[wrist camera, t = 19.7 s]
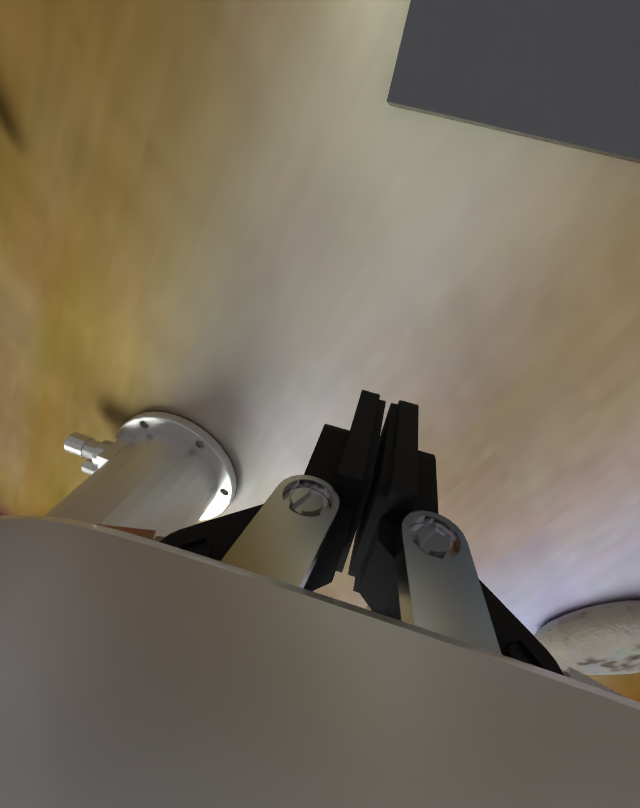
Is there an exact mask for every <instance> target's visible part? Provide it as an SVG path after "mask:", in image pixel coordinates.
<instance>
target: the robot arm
mask: <svg viewBox="0 0 640 808" xmlns="http://www.w3.org/2000/svg"><path fill="white" fill-rule="evenodd" d="M379 397H380V395H379V394H376V393H372V392H368V391H365V390H362V392H361V395H360V399H359V402H358V406H357V409H356V412H355V416H354V419H353V422H352V426H351V429H350V431H349V430H345V429H342V428H338V427H335V426H331V425H328V424H325V425H324V427H323V430H322V432H321V435H320V437H319V439H318V442H317V444H316V447H315V449H314V451H313V454H312V456H311V459H310V461H309V464H308V466H307V468H306V471H305V473H304V475H296V476H291V477H289V478H287V479H284V480H283V481H282V482H281V483H280V484H279V485H278V486H277V487H276V489H275V490H274V491H273V493H272V494H271V495H270V497H269V498H268V499H267V501H266V502H265V503H264V504H262V505H259V506H255V507H252V508H249V509H245V510H242V511H239V512H235V513H232V514H229V515H225V516H222V517H219V518H216V519H212V518H214V517H216V516H219V515H220V514H221V513H223V512H224V511H225V510H226V509H227V507H228V506H229V505H230V503H231V502H232V500H233V498H234V496H235V492H236V487H237V485H236V475H235V472H234V468H233V466H232V464H231V462H230V460H229V457H228V456H227V454H226V453H225V452H224V450H223V449H222V447H221V446H220V445H219V444H218V443H217V442H216V441H215V440H214V438H213V437H212V436H210V435H209V434H208V433H207V432H205V431H204V430H203V429H202V428H200V427H199V426H197V425H195V424H194V423H192V422H190V421H189V420H186V419H184V418H182V417H179V416H177V415H173V414H169V413H166V412H155V411H153V412H144V413H141V414H138V415H136V416H134V417H133V418H131V419H130V420H128V421H127V422H126V423H125V424H124V425H123V426H122V427H121V428H120V429H119V431H118V433H117V435H116V438H115V442H111V441H109V440H106V441H103V442H99V441H96V440H95V439H93V438H91V437H88V436H85V435H83V434H80V433H77V432H75V433H72V434H70V435H69V436H68V437H67V439H66V440H65V443H64V449H65V450H66V451H67V452H70V453H72V454H75V455H78V456H80V457H84V458H89V459H87V460H86V461H85V462H84V463H83V465H82V469H81V470H82V472H84V473H87V474H89V475H91V476H90V477H88V478H87V479H86V480H85V481H84V482H83V483H81V484H80V485H79V486H78V487H77V488H76V489H74V490H73V491H72V492H71V493H70V494H69V495H68V496H66V497H65V498H64V499H63V500H62V501H61V502H59V503H58V504H57V505H56V506H55V507H54V508H53V509H51V510H50V511H49V512H48V513H47V514H46V515H44V516H35V515H31V516H0V808H640V703H639V702H636V701H634V700H631V699H628V698H627V697H625V696H623V695H621V694H619V693H617V692H615V691H614V690H612V689H610V688H608V687H606V686H604V685H602V684H601V683H599V682H597V681H595V680H593V679H591V678H590V677H588V676H586V675H584V674H582V673H580V672H578V671H577V670H575V669H573V668H571V667H568V668H567V669H566V670H565V671H564V670H562V669H560V667H559V665H558V663H557V661H556V660H555V659H554V658H553V656H552V655H551V654H550V653H549V651H548V650H547V649H546V648H545V647H544V646H543V645H542V644H541V643H540V642H539V641H538V640H537V639H536V638H535V637H534V635H533V634H532V633H531V632H530V631H529V630H528V629H527V628H526V627H525V626H524V625H523V624H522V623H521V622H520V621H519V620H518V619H517V618H516V617H515V616H514V615H513V614H512V613H511V612H510V611H509V610H508V609H507V608H506V607H505V606H504V604H503V603H502V602H501V601H500V600H499V599H498V598H497V597H496V596H495V595H494V594H493V593H492V592H491V591H490V590H489V589H488V588H487V587H486V586H485V585H484V584H483V583H482V582H481V581H480V580H479V579H478V575H477V572H476V569H475V566H474V562H473V559H472V556H471V553H470V549H469V546H468V543H467V541H466V539H465V536H464V534H463V533H462V532H461V531H460V529H459V528H458V527H457V526H456V525H455V524H454V523H452V522H451V521H450V520H449V519H447V518H445V517H443V516H441V515H439V514H438V497H437V478H436V459H435V456H434V455H433V454H429V453H426V452H422V451H419V450H418V405H416V404H412V403H408V402H405V401H401V400H400V401H399V403H398V405H397V404H394V403H391V405H390V408H389V411H388V414H387V417H386V420H385V423H384V426H383V429H382V432H381V427H382V421H383V415H384V409H385V403H386V401H383V400H379ZM380 433H381V435H380ZM206 519H212V520H209V521H206V522H202V523H199V524H197V522H198V521H199V520H206ZM356 529H357V530H356ZM355 532H356V535H355ZM354 535H355V540H354V545H353V551H352V556H351V561H350V566H349V572H348V575H351V576H354V577H355V583H354V589H353V591H356V592H359V593H360V594H361V596H362V597H363V598H364V600H365V601H366V603H367V604H368V605H367V608H366V609H364V608H361V607H358V606H355V605H352V604H349V603H346V602H343V601H340V600H337V599H334V598H331V597H328V596H324V595H321V594H318V593H315V592H314V590H316V589H318V588H320V587H322V586H324V585H327V584H329V583H331V582H332V580H333V577H334V574H335V571H339V572H342V571H343V568H344V565H345V562H346V559H347V556H348V553H349V550H350V547H351V544H352V541H353V538H354Z"/></svg>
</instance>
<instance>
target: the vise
mask: <svg viewBox="0 0 640 808" xmlns="http://www.w3.org/2000/svg"><path fill="white" fill-rule="evenodd" d="M387 102H388V103H389V104H390V105H391V106H395V107H400V108H404V109H408V110H413V111H417V112H421V113H426V114H430V115H434V116H439V117H443V118H447V119H451V120H456V121H460V122H464V123H469V124H473V125H477V126H482V127H486V128H490V129H495V130H499V131H503V132H507V133H512V134H516V135H520V136H525V137H529V138H533V139H538V140H542V141H546V142H551V143H555V144H559V145H564V146H568V147H572V148H576V149H581V150H585V151H589V152H594V153H598V154H602V155H607V156H611V157H615V158H620V159H624V160H628V161H632V162H637V163H640V0H411V2H410V6H409V11H408V15H407V19H406V23H405V27H404V32H403V36H402V40H401V44H400V48H399V53H398V57H397V61H396V65H395V69H394V74H393V78H392V82H391V86H390V90H389V95H388V99H387Z"/></svg>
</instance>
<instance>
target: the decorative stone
mask: <svg viewBox="0 0 640 808" xmlns="http://www.w3.org/2000/svg"><path fill="white" fill-rule="evenodd" d="M534 637H535V638H536V639H537V640H538V641H539V642H540V643H541V644H542V645H543V646H544V647H545V648H546V649H547V650H548V651H549V653H550V654H551V655H552V656H553V658H554V659H555V660H556V661H557V663H558V665H559V667H560V669H562V670H564V671H565V670H566V669H567V668H568V667H571V668H573V669H575V670H577V671H578V672H580V673H582V674H584V675H611V674H633V673H638V672H640V600H626V601H617V602H609V603H604V604H599V605H594V606H590V607H586V608H583V609H579V610H577V611H574V612H571V613H568V614H566V615H563V616H561V617H559V618H556V619H554V620H552V621H550V622H548V623H547V624H546V625H544V626H543V627H542V628H540V629H539V630H538V631H537V632H536V633H535V635H534Z"/></svg>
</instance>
